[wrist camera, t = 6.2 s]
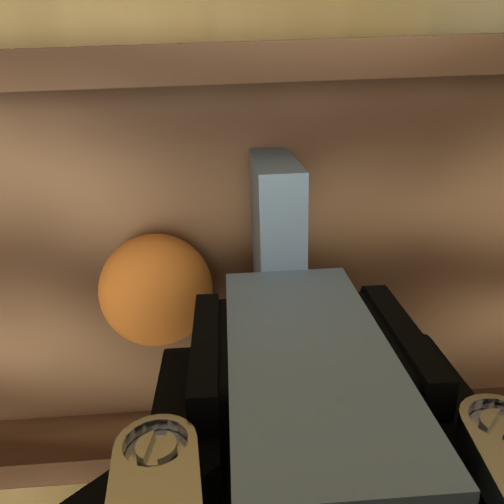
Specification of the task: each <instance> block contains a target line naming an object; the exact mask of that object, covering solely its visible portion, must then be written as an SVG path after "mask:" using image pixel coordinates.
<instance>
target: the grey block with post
mask: <svg viewBox="0 0 504 504" xmlns="http://www.w3.org/2000/svg"><path fill="white" fill-rule="evenodd" d="M249 158H250V187H251V216H252V245H253V272H252V273H234V274H226V298H227V340H228V382H229V424H230V466H231V504H478V502H479V497H480V490H479V488H478V487H477V485H476V483H475V482H474V480H473V479H472V477H471V475H470V474H469V472H468V470H467V469H466V467H465V466H464V464H463V462H462V461H461V459H460V457H459V456H458V454H457V453H456V451H455V449H454V448H453V446H452V444H451V443H450V441H449V440H448V438H447V436H446V435H445V433H444V431H443V430H442V428H441V427H440V425H439V423H438V422H437V420H436V418H435V417H434V415H433V414H432V412H431V410H430V409H429V407H428V405H427V404H426V402H425V401H424V399H423V397H422V396H421V394H420V392H419V391H418V389H417V388H416V386H415V384H414V383H413V381H412V379H411V378H410V376H409V375H408V373H407V371H406V370H405V368H404V367H403V365H402V363H401V362H400V360H399V358H398V357H397V355H396V354H395V352H394V350H393V349H392V347H391V345H390V344H389V342H388V341H387V339H386V337H385V336H384V334H383V332H382V331H381V329H380V328H379V326H378V324H377V323H376V321H375V319H374V318H373V316H372V315H371V313H370V311H369V310H368V308H367V306H366V305H365V303H364V302H363V300H362V298H361V297H360V295H359V293H358V292H357V290H356V289H355V287H354V285H353V284H352V282H351V280H350V279H349V277H348V276H347V274H346V272H345V271H344V269H343V268H327V269H308V205H309V172H308V171H307V170H306V169H305V168H304V166H303V165H302V164H301V163H300V162H299V161H298V159H297V158H296V157H295V156H294V155H293V154H292V152H291V151H290V150H289V149H288V148H287V147H284V148H261V149H249Z"/></svg>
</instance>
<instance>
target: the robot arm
mask: <svg viewBox="0 0 504 504" xmlns="http://www.w3.org/2000/svg"><path fill="white" fill-rule="evenodd" d="M358 293H359V295H360V297H361V298H362V300H363V302H364V303H365V305H366V306H367V308H368V310H369V311H370V313H371V315H372V316H373V318H374V319H375V321H376V323H377V324H378V326H379V328H380V329H381V331H382V332H383V334H384V336H385V337H386V339H387V341H388V342H389V344H390V345H391V347H392V349H393V350H394V352H395V354H396V355H397V357H398V358H399V360H400V362H401V363H402V365H403V367H404V368H405V370H406V371H407V373H408V375H409V376H410V378H411V379H412V381H413V383H414V384H415V386H416V388H417V389H418V391H419V392H420V394H421V396H422V397H423V399H424V401H425V402H426V404H427V405H428V407H429V409H430V410H431V412H432V414H433V415H434V417H435V418H436V420H437V422H438V423H439V425H440V427H441V428H442V430H443V431H444V433H445V435H446V436H447V438H448V440H449V441H450V443H451V444H452V446H453V448H454V449H455V451H456V453H457V454H458V456H459V457H460V459H461V461H462V462H463V464H464V466H465V467H466V469H467V470H468V472H469V474H470V475H471V477H472V479H473V480H474V482H475V483H476V485H477V487H478V488H479V490H480V497H479V502H478V504H504V396H502V395H498V394H488V393H484V394H475V393H474V392H473V391H472V390H471V388H470V387H469V386H468V385H467V383H466V382H465V381H464V379H463V378H462V377H461V376H460V374H459V373H458V372H457V370H456V369H455V368H454V367H453V365H452V364H451V363H450V362H449V360H448V359H447V358H446V356H445V355H444V354H443V353H442V351H441V350H440V349H439V347H438V346H437V345H436V344H435V342H434V341H433V340H432V339H431V337H430V336H428V335H427V334H423V333H422V332H421V330H420V329H419V328H418V326H417V325H416V324H415V323H414V321H413V320H412V319H411V317H410V316H409V315H408V313H407V312H406V311H405V309H404V308H403V307H402V306H401V304H400V303H399V302H398V300H397V299H396V298H395V296H394V295H393V294H392V292H391V291H390V290H389V289H388V287H387V286H386V285H371V286H362V287H361V290H360V292H358ZM60 504H231V466H230V424H229V382H228V340H227V299H219V293H217V294H197V295H196V302H195V311H194V320H193V329H192V338H191V347H185V348H167V349H164V352H163V356H162V361H161V366H160V371H159V376H158V381H157V386H156V390H155V395H154V400H153V405H152V410H151V415H150V416H146V417H143V418H141V419H138V420H136V421H134V422H132V423H131V424H130V425H128V426H127V427H125V428H124V429H123V430H122V431H121V433H120V434H119V435H118V436H117V438H116V440H115V443H114V445H113V449H112V456H111V463H110V469H109V470H108V471H106V472H105V473H103V474H102V475H100V476H99V477H97V478H96V479H94V480H93V481H92V482H90V483H89V484H87V485H86V486H84V487H83V488H81V489H80V490H79V491H77V492H76V493H74V494H73V495H71V496H70V497H68V498H67V499H66V500H64V501H63V502H61V503H60Z"/></svg>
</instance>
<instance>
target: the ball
mask: <svg viewBox="0 0 504 504" xmlns="http://www.w3.org/2000/svg"><path fill="white" fill-rule="evenodd" d="M212 287H213V286H212V279H211V274H210V271H209V268H208V266H207V264H206V262H205V260H204V259H203V257H202V256H201V255H200V253H199V252H198V251H197V250H196V249H195V248H194V247H193V246H191V245H190V244H188V243H187V242H185V241H183V240H182V239H180V238H177V237H174V236H171V235H167V234H145V235H141V236H138V237H135V238H132V239H130V240H129V241H127V242H125V243H123V244H122V245H121V246H119V247H118V248H117V249H116V250H115V251H114V252H113V253H112V254H111V255H110V257H109V258H108V259H107V261H106V263H105V265H104V266H103V269H102V272H101V274H100V278H99V283H98V299H99V303H100V307H101V310H102V313H103V315H104V317H105V318H106V320H107V322H108V323H109V324H110V326H111V327H112V328H113V329H114V330H115V331H116V332H117V333H118V334H120V335H121V336H122V337H124V338H126V339H127V340H130V341H132V342H134V343H137V344H141V345H146V346H163V345H168V344H172V343H175V342H177V341H179V340H181V339H183V338H185V337H187V336H188V335H190V334H191V333H192V329H193V320H194V311H195V302H196V295H197V294H212Z"/></svg>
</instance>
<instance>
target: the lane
mask: <svg viewBox="0 0 504 504" xmlns="http://www.w3.org/2000/svg"><path fill="white" fill-rule="evenodd" d="M284 147H287V148H288V149H289V150H290V151H291V152H292V154H293V155H294V156H295V157H296V158H297V159H298V161H299V162H300V163H301V164H302V165H303V166H304V168H305V169H306V170H307V171H308V172H309V205H308V269H327V268H343V269H344V271H345V272H346V274H347V276H348V277H349V279H350V280H351V282H352V284H353V285H354V287H355V289H356V290H357V292H360V290H361V287H362V286H371V285H386V286H387V287H388V289H389V290H390V291H391V292H392V294H393V295H394V296H395V298H396V299H397V300H398V302H399V303H400V304H401V306H402V307H403V308H404V309H405V311H406V312H407V313H408V315H409V316H410V317H411V319H412V320H413V321H414V323H415V324H416V325H417V326H418V328H419V329H420V330H421V332H422V333H423V334H427V335H428V336H430V337H431V339H432V340H433V341H434V342H435V344H436V345H437V346H438V347H439V349H440V350H441V351H442V353H443V354H444V355H445V356H446V358H447V359H448V360H449V362H450V363H451V364H452V365H453V367H454V368H455V369H456V370H457V372H458V373H459V374H460V376H461V377H462V378H463V379H464V381H465V382H466V383H467V385H468V386H469V387H470V388H471V390H472V391H473V392H474V393H475V394H484V393H488V394H498V395H502V396H504V33H487V34H456V35H425V36H393V37H362V38H331V39H300V40H269V41H238V42H207V43H176V44H145V45H114V46H83V47H52V48H21V49H0V490H1V489H15V488H28V487H42V486H56V485H70V484H83V483H90V482H92V481H93V480H94V479H96V478H97V477H99V476H100V475H102V474H103V473H105V472H106V471H108V470H109V469H110V463H111V456H112V449H113V445H114V443H115V440H116V438H117V436H118V435H119V434H120V433H121V431H122V430H123V429H124V428H125V427H127V426H128V425H130V424H131V423H132V422H134V421H136V420H138V419H141V418H143V417H146V416H150V415H151V410H152V405H153V400H154V395H155V390H156V386H157V381H158V376H159V371H160V366H161V361H162V356H163V352H164V349H167V348H185V347H191V338H192V333H191V334H190V335H188V336H187V337H185V338H183V339H181V340H179V341H177V342H175V343H172V344H168V345H163V346H146V345H141V344H137V343H134V342H132V341H130V340H127V339H126V338H124V337H122V336H121V335H120V334H118V333H117V332H116V331H115V330H114V329H113V328H112V327H111V326H110V324H109V323H108V322H107V320H106V318H105V317H104V315H103V313H102V310H101V307H100V303H99V299H98V283H99V278H100V274H101V272H102V269H103V266H104V265H105V263H106V261H107V259H108V258H109V257H110V255H111V254H112V253H113V252H114V251H115V250H116V249H117V248H118V247H119V246H121V245H122V244H123V243H125V242H127V241H129V240H130V239H132V238H135V237H138V236H141V235H145V234H167V235H171V236H174V237H177V238H180V239H182V240H183V241H185V242H187V243H188V244H190V245H191V246H193V247H194V248H195V249H196V250H197V251H198V252H199V253H200V255H201V256H202V257H203V259H204V260H205V262H206V264H207V266H208V268H209V271H210V274H211V279H212V286H213V287H212V294H217V293H219V299H227V298H226V274H234V273H252V272H253V245H252V216H251V187H250V158H249V149H261V148H284Z"/></svg>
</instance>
